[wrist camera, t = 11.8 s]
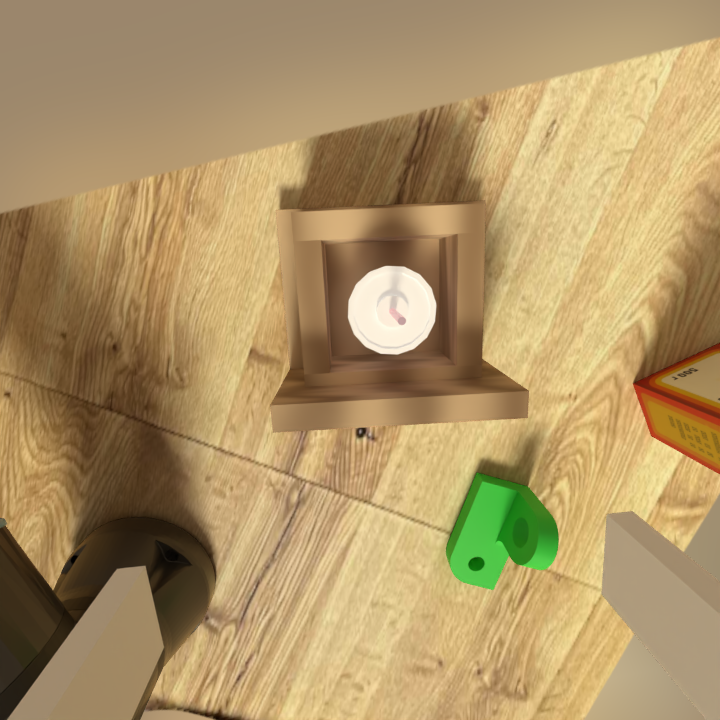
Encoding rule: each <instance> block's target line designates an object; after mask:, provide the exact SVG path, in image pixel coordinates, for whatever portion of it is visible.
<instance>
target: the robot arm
mask: <svg viewBox="0 0 720 720" xmlns="http://www.w3.org/2000/svg"><path fill="white" fill-rule="evenodd" d="M5 525H7V522H6V520H5V519H3V518H0V720H140V719H141V717H142V714H143V712H144V710H145V708H146V705H147V703H148V701H149V698H150V696H151V694H152V692H153V689H154V687H155V684H156V682H157V680H158V678H159V676H160V674H161V671H162V669H163V667H164V666H165V665H166V664H167V662H168V661H169V660H170V659H171V658H172V656H173V655H174V654H175V653H176V652H177V651H178V649H179V648H180V647H181V646H182V644H183V643H184V642H185V641H186V640H187V638H188V637H189V636H190V635H191V634H192V633H193V632H194V631H195V630H196V629H197V628H198V626H199V625H200V624H201V622H202V620H203V618H204V617H205V614H206V612H207V610H208V607H209V605H210V602H211V600H212V597H213V594H214V589H215V573H214V569H213V565H212V563H211V560H210V558H209V556H208V555H207V553H206V551H205V550H204V548H203V547H202V546H201V545H200V544H199V543H198V542H197V541H196V540H195V539H194V538H193V537H192V536H191V535H190V534H188V533H187V532H185V531H184V530H182V529H180V528H179V527H177V526H175V525H172V524H170V523H167V522H164V521H161V520H157V519H152V518H143V517H132V518H124V519H119V520H115V521H112V522H109V523H107V524H105V525H103V526H101V527H99V528H98V529H96V530H95V531H93V532H92V533H91V534H90V535H89V536H88V537H87V538H86V539H85V540H84V541H83V542H82V543H81V544H80V545H79V546H78V547H77V548H76V549H75V550H74V552H73V553H72V554H71V556H70V557H69V558H68V560H67V562H66V563H65V565H64V567H63V570H62V572H61V575H60V577H59V579H58V581H57V583H56V586H55V588H54V590H52V589H51V587H50V586H49V585H48V583H47V582H46V581H45V579H44V578H43V576H42V575H41V574H40V572H39V571H38V570H37V568H36V567H35V566H34V564H33V563H32V562H31V560H30V559H29V558H28V556H27V555H26V554H25V552H24V551H23V550H22V548H21V547H20V545H19V544H18V543H17V541H16V540H15V539H14V537H13V536H12V534H11V533H10V531H9V530H8V529H7V527H6V526H5ZM602 595H603V597H604V598H605V599H606V600H607V601H608V603H609V604H610V605H611V606H612V607H613V609H614V610H615V611H616V612H617V613H618V615H619V616H620V617H621V618H622V619H623V621H624V622H625V623H626V624H627V625H628V627H629V628H630V629H631V630H632V631H633V633H634V634H635V635H636V636H637V637H638V638H639V640H640V641H641V642H642V643H643V645H644V646H645V647H646V648H647V649H648V651H649V652H650V653H651V654H652V656H653V657H654V658H655V659H656V660H657V662H658V663H659V664H660V665H661V666H662V668H663V669H664V670H665V671H666V672H667V674H668V675H669V676H670V677H671V678H672V680H673V681H674V682H675V683H676V684H677V686H678V687H679V688H680V689H681V690H682V692H683V693H684V694H685V695H686V696H687V698H688V699H689V700H690V701H691V702H692V704H693V705H694V706H695V707H696V708H697V710H698V711H699V712H700V713H701V715H702V716H703V717H704V718H705V719H706V720H720V581H719V580H717V579H716V578H715V577H713V576H712V575H711V574H710V573H709V572H707V571H706V570H705V569H704V568H702V567H701V566H700V565H699V564H697V563H696V562H695V561H694V560H692V559H691V558H690V557H688V556H687V555H686V554H685V553H684V552H682V551H681V550H680V549H679V548H677V547H676V546H675V545H674V544H672V543H671V542H670V541H669V540H667V539H666V538H665V537H664V536H662V535H661V534H660V533H659V532H657V531H656V530H655V529H654V528H653V527H651V526H650V525H649V524H648V523H646V522H645V521H644V520H643V519H641V518H640V517H639V516H638V515H636V514H635V513H634V512H633V511H630V512H621V513H612V514H607V519H606V534H605V550H604V565H603V580H602Z"/></svg>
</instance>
